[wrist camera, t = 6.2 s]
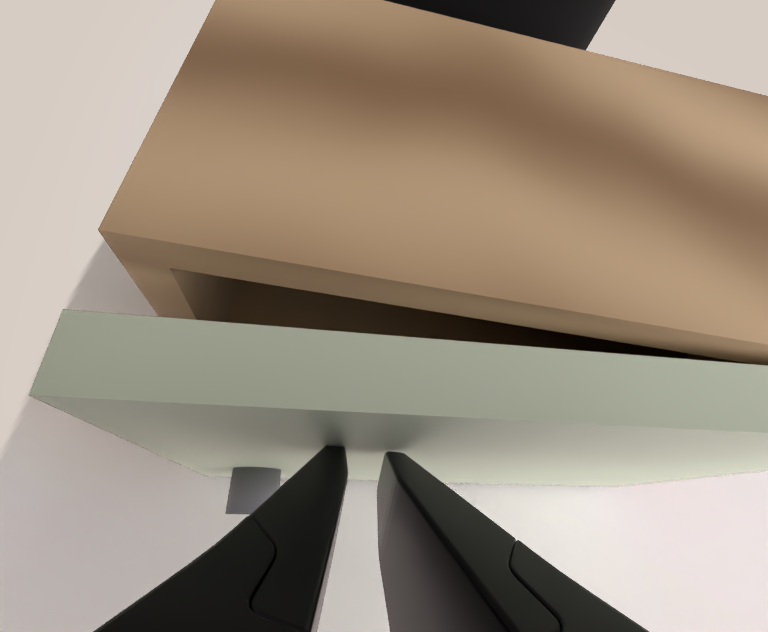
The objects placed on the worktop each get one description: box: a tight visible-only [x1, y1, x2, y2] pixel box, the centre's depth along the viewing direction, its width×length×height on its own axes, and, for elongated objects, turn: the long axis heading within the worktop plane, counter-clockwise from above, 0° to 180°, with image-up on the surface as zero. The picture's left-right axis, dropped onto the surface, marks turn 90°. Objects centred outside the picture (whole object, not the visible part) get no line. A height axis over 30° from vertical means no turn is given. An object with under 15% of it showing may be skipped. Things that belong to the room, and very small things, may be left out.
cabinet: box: [98, 0, 768, 366], centre depth 14 cm, size 8×16×11 cm, turn 84°
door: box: [29, 309, 768, 514], centre depth 11 cm, size 2×16×11 cm, turn 89°
